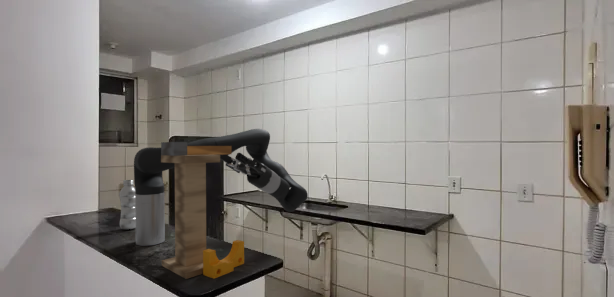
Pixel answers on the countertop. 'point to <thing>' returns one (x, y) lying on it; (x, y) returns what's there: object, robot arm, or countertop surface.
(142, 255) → the countertop surface
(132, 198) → the plastic bottle
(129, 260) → the countertop surface
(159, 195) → the robot arm
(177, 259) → the stand
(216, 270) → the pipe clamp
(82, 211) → the countertop surface
